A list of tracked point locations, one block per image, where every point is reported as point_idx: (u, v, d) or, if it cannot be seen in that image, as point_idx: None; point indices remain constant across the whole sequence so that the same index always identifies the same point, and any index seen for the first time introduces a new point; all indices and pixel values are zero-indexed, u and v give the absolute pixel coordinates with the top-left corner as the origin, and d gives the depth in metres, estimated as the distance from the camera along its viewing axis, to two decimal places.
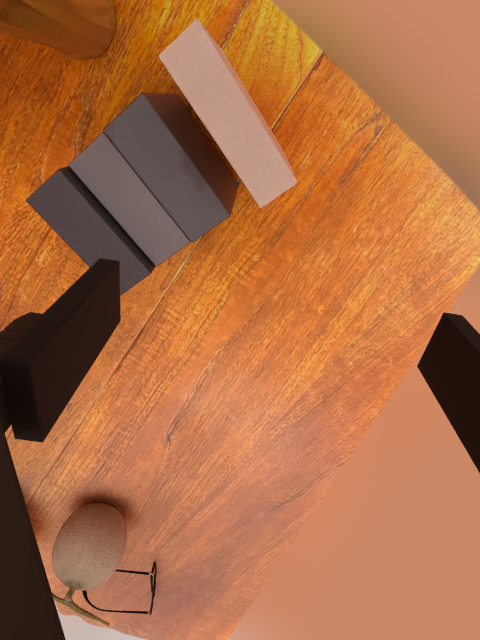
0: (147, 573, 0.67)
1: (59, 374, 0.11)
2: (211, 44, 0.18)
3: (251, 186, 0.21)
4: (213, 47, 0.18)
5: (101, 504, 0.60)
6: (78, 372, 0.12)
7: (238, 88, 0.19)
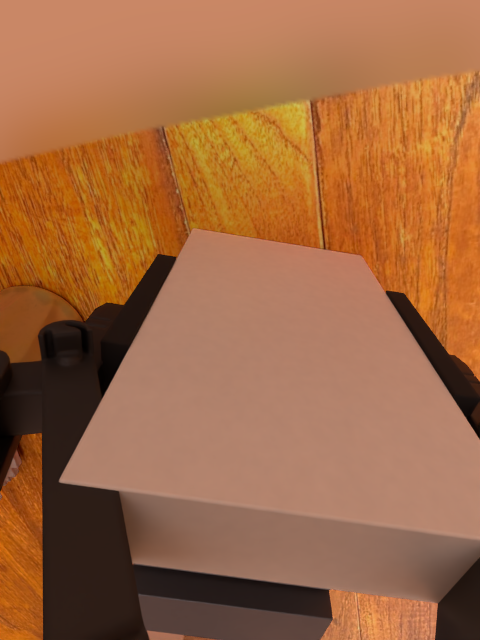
0: None
1: None
2: (125, 493, 0.07)
3: (431, 597, 0.08)
4: (134, 491, 0.07)
5: None
6: None
7: (249, 508, 0.07)
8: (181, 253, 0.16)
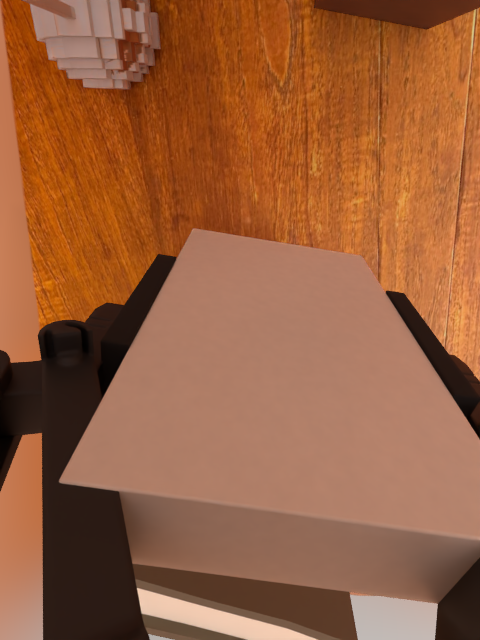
0: None
1: None
2: (125, 494, 0.07)
3: (431, 598, 0.08)
4: (134, 492, 0.07)
5: None
6: None
7: (249, 508, 0.07)
8: (181, 253, 0.16)
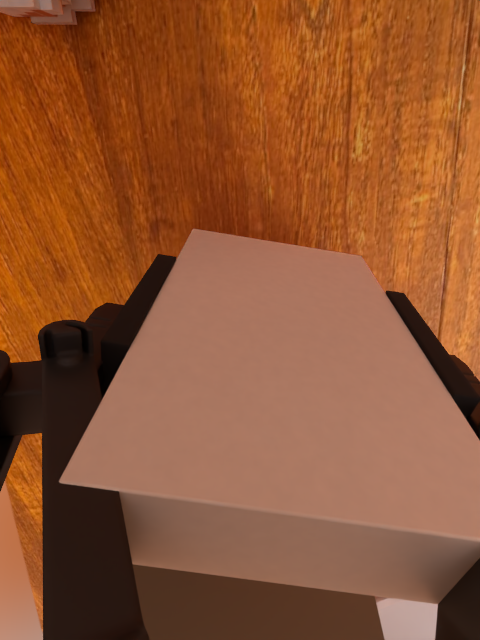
0: None
1: None
2: (125, 494, 0.07)
3: (431, 598, 0.08)
4: (134, 492, 0.07)
5: None
6: None
7: (249, 509, 0.07)
8: (181, 253, 0.16)
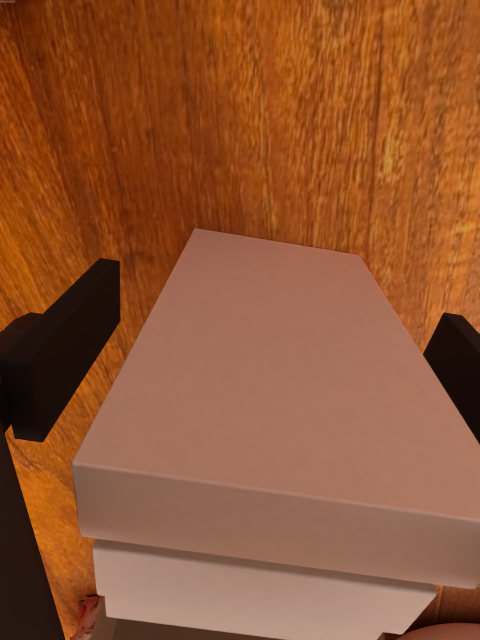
0: None
1: (59, 374, 0.11)
2: (133, 475, 0.07)
3: (422, 577, 0.08)
4: (142, 473, 0.07)
5: None
6: (77, 372, 0.12)
7: (250, 489, 0.07)
8: (183, 252, 0.17)
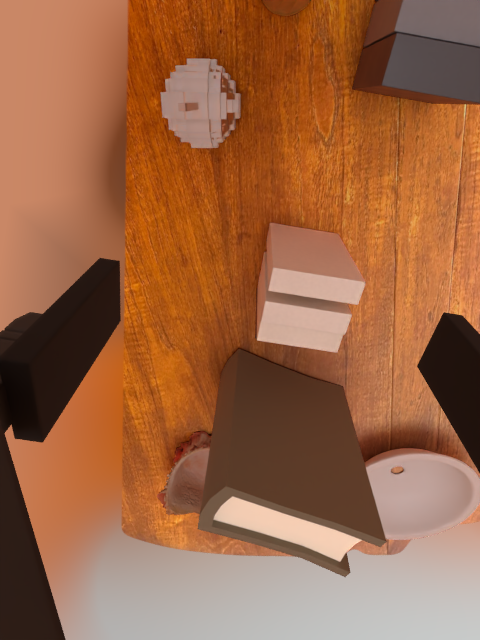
0: None
1: (59, 374, 0.11)
2: (285, 270, 0.35)
3: (345, 300, 0.37)
4: (286, 270, 0.35)
5: None
6: (77, 372, 0.12)
7: (308, 273, 0.35)
8: (271, 231, 0.45)
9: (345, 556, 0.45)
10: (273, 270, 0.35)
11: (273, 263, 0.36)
